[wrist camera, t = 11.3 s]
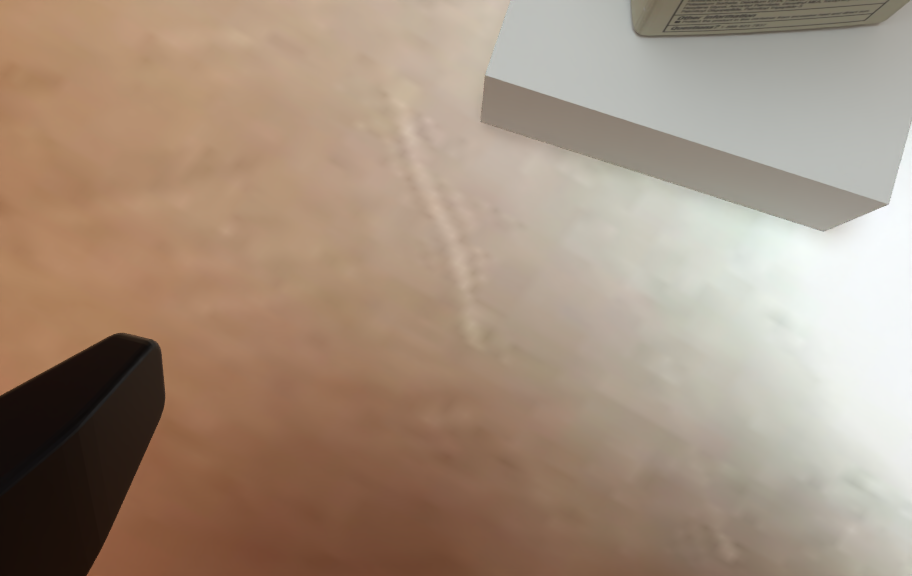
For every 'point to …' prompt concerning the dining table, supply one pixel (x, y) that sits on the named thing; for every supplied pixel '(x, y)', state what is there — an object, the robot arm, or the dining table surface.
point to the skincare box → (754, 15)
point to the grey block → (714, 104)
